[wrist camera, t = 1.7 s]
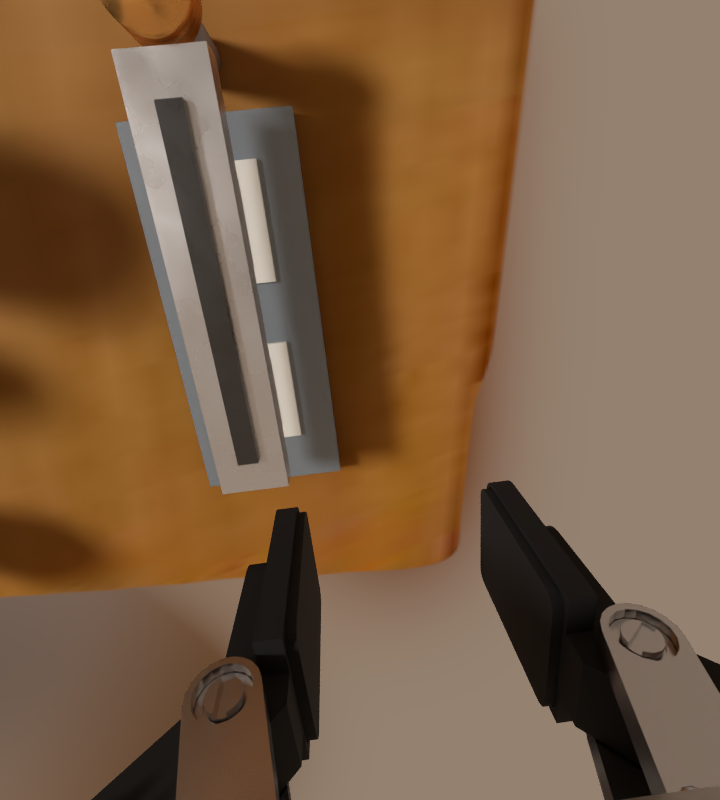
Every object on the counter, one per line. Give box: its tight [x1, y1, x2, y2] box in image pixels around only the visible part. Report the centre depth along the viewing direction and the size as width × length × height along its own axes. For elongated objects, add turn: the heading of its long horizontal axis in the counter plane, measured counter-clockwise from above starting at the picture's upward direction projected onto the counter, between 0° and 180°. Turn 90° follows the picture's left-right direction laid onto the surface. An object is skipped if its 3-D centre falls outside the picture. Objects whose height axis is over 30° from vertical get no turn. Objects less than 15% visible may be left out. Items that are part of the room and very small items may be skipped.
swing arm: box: [101, 0, 291, 494], centre depth 22 cm, size 26×4×2 cm, turn 6°
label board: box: [115, 22, 340, 486], centre depth 26 cm, size 28×10×6 cm, turn 6°
